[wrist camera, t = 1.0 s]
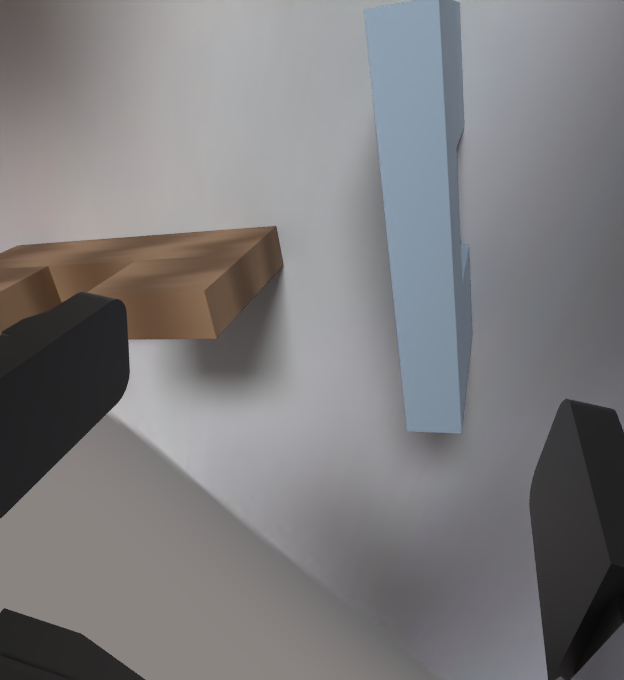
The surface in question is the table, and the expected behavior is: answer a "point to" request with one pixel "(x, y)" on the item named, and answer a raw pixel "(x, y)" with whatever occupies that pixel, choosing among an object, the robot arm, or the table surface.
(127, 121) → the table surface
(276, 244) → the walnut plate
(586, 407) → the robot arm
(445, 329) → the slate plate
